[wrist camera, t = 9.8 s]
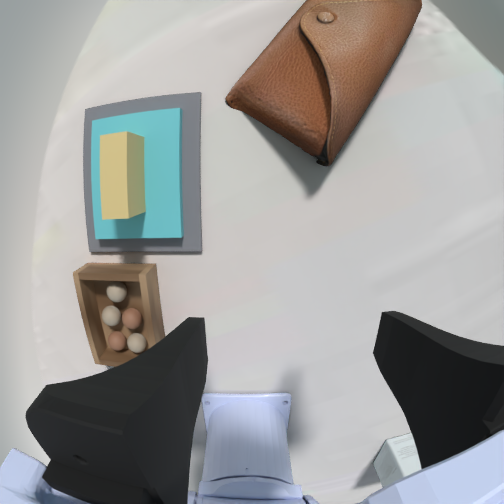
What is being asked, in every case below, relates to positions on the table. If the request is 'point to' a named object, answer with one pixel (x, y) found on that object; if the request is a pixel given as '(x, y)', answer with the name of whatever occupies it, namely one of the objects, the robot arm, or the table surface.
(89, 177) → the mat
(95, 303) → the box
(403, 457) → the skincare box
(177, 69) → the table surface
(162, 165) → the lid
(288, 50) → the sunglasses case
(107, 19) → the table surface
